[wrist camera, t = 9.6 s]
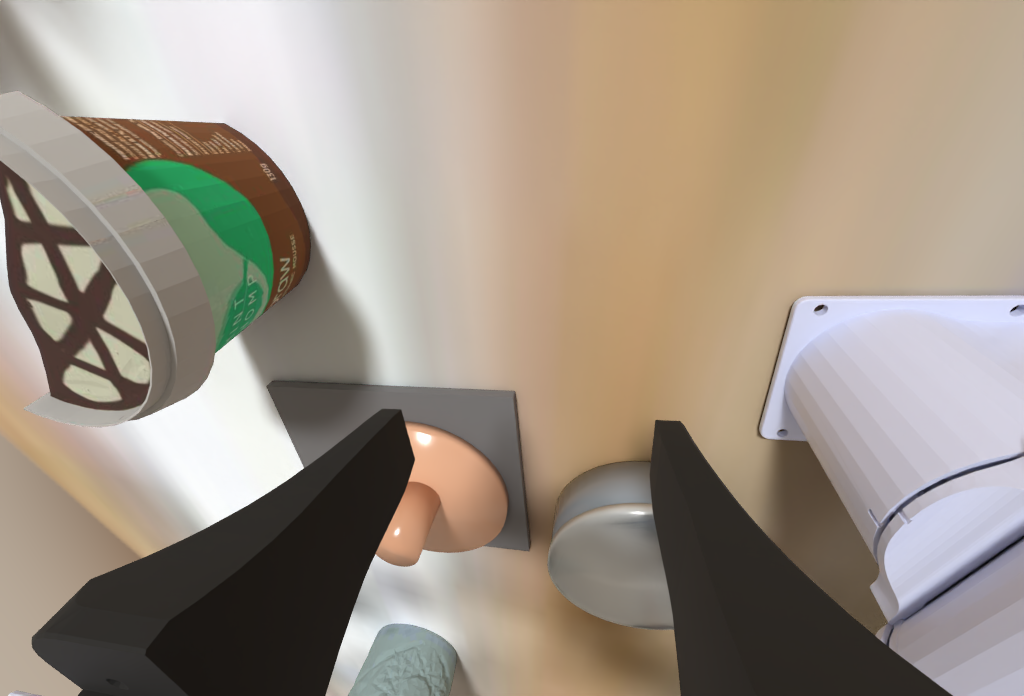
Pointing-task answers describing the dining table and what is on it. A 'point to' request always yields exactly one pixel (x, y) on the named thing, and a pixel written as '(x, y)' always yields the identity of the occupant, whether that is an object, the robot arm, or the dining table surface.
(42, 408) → the food container
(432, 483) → the lid
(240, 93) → the dining table surface
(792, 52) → the dining table surface
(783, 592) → the robot arm
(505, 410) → the mat
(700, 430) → the dining table surface
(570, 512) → the bowl
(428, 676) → the embossed green pot
